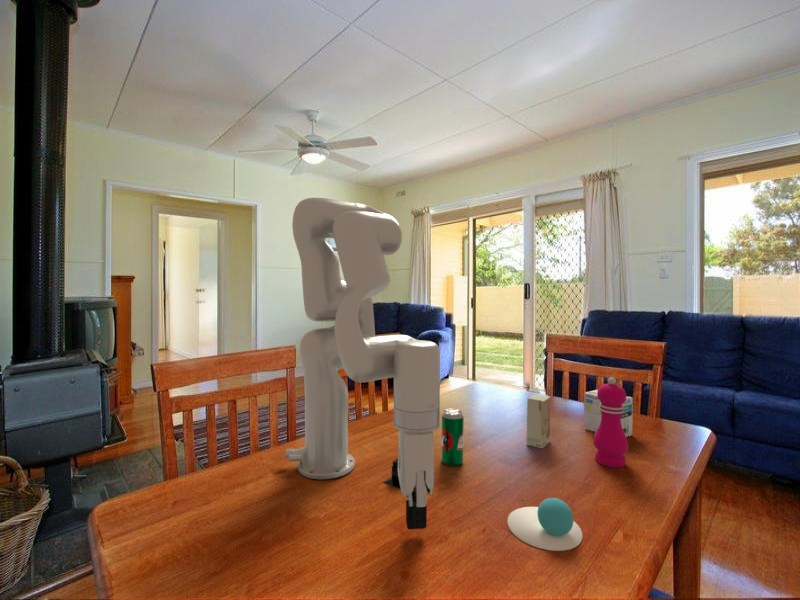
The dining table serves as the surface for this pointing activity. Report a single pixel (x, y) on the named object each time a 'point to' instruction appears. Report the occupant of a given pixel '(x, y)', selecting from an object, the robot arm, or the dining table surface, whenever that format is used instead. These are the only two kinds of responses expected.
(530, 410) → the skincare box
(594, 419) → the light bulb box
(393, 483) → the black box
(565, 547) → the white rounded object
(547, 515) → the ball
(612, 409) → the pepper mill
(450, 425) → the soda can
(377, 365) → the robot arm
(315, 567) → the dining table surface
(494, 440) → the dining table surface
